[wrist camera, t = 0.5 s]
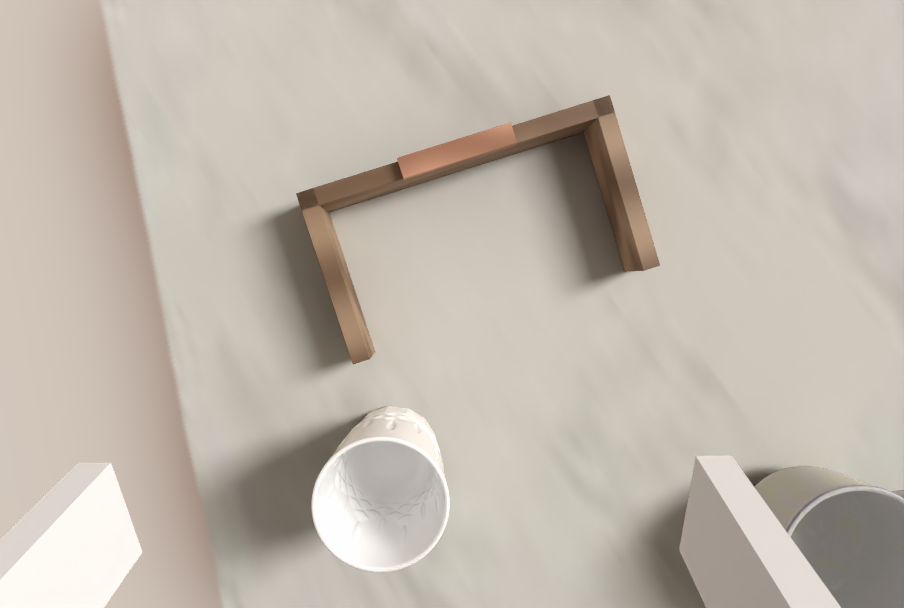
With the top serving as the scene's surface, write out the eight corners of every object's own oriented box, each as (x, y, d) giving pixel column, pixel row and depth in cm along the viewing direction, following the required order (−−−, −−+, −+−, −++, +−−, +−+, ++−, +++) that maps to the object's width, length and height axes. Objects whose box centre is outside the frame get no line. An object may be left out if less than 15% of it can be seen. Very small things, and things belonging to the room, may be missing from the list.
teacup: (731, 598, 41) (803, 674, 33) (702, 468, 41) (768, 513, 33) (897, 554, 42) (1008, 618, 34) (871, 424, 41) (977, 459, 33)
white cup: (321, 466, 40) (284, 528, 30) (376, 378, 39) (357, 411, 29) (409, 518, 40) (402, 597, 30) (464, 432, 40) (475, 482, 30)
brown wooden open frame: (639, 266, 40) (663, 265, 36) (359, 356, 39) (351, 365, 35) (593, 110, 39) (612, 90, 35) (307, 200, 39) (293, 190, 34)
